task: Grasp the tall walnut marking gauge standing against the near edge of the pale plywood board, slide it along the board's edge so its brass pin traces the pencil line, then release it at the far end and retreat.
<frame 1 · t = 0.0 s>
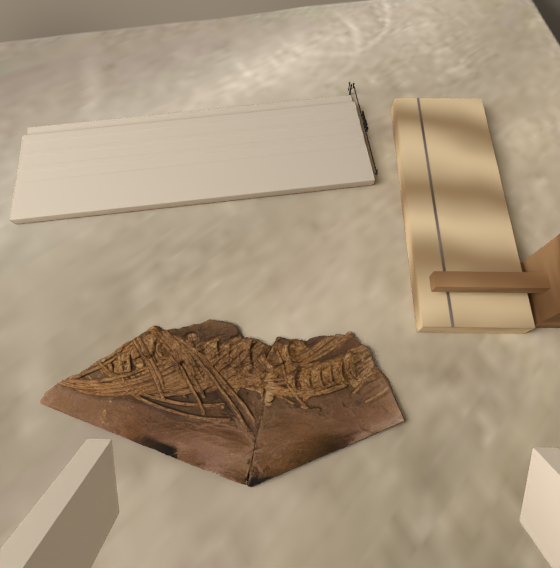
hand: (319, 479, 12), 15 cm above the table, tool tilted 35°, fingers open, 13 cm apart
board: (449, 208, 34), on the table
wooden fragment: (221, 398, 29), on the table
baseboard molding: (196, 156, 37), on the table
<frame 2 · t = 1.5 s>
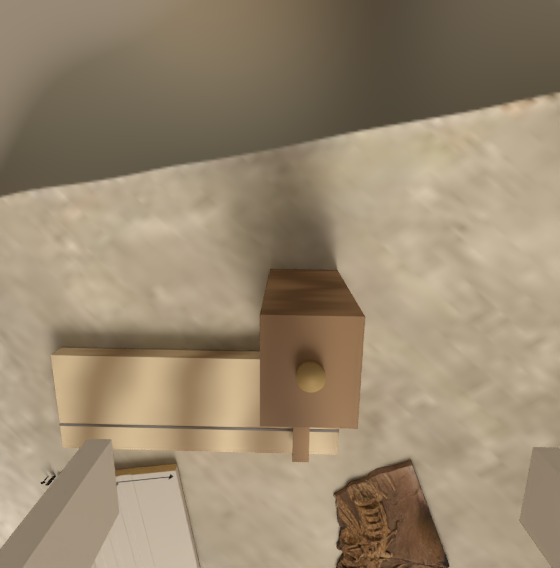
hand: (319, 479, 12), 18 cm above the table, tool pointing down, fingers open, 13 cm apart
board: (201, 396, 32), on the table
gauge: (302, 308, 30), on the table
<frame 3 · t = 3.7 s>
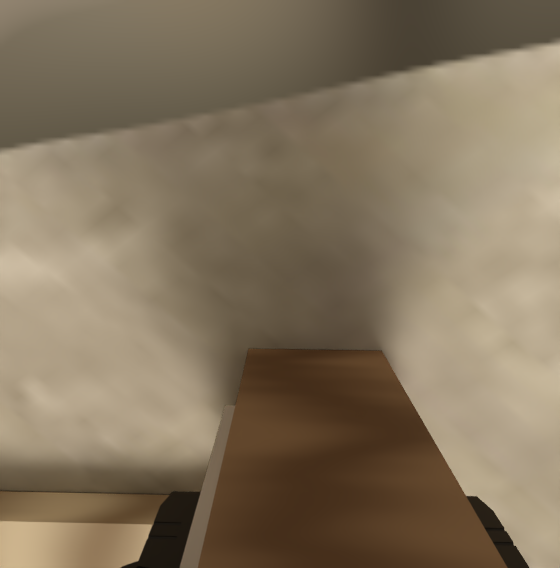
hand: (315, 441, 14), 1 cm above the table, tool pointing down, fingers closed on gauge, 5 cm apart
gauge: (312, 420, 16), on the table, touching gripper
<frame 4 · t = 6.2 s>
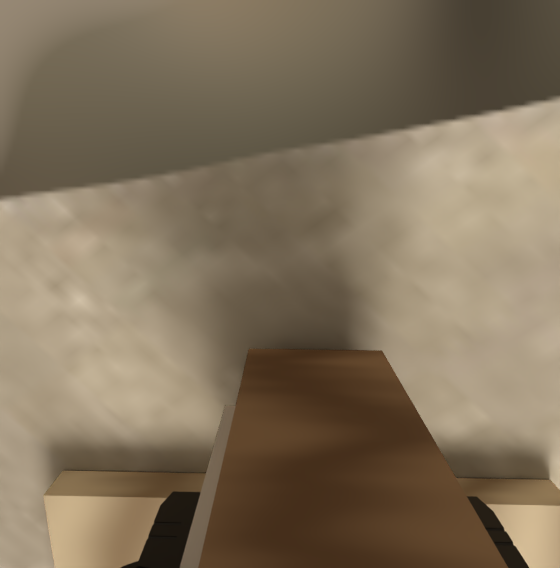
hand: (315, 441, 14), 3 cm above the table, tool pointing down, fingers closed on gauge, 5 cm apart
board: (302, 547, 19), on the table
gauge: (312, 420, 16), point 1 cm above the table, touching gripper
when the fingers open (1 cm above the table, at t = 8.9 s): gauge stays where it is, on the table.
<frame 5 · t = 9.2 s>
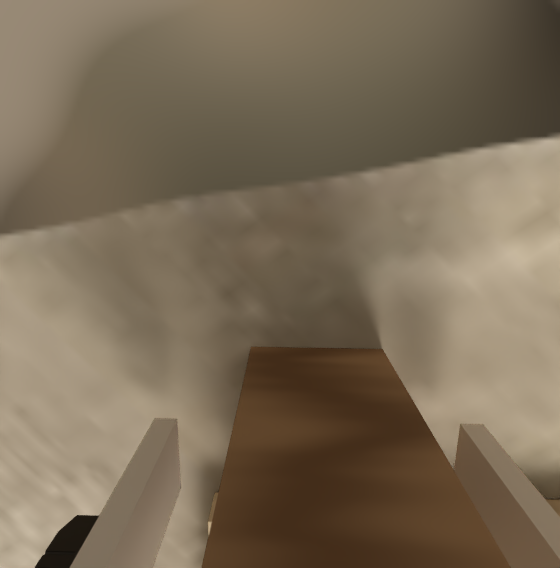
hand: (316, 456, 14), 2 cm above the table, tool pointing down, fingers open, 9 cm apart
gauge: (314, 417, 16), on the table
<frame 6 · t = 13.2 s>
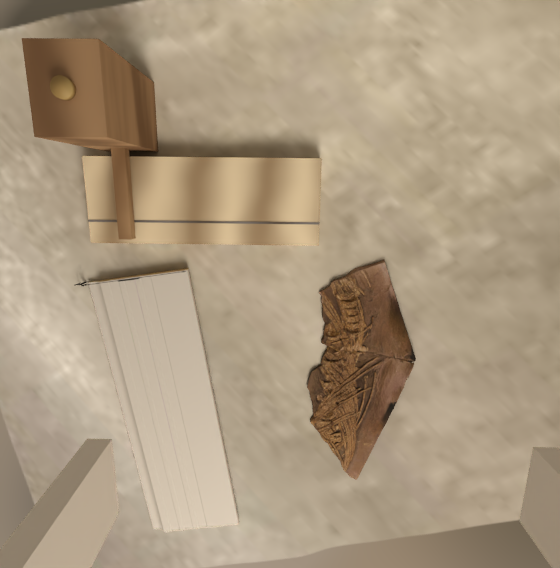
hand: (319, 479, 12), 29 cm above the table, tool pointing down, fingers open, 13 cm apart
board: (206, 201, 39), on the table
gauge: (129, 117, 37), on the table
wooden fragment: (359, 375, 43), on the table
baseboard molding: (166, 405, 45), on the table
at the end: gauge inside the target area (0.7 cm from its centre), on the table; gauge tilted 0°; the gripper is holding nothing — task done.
